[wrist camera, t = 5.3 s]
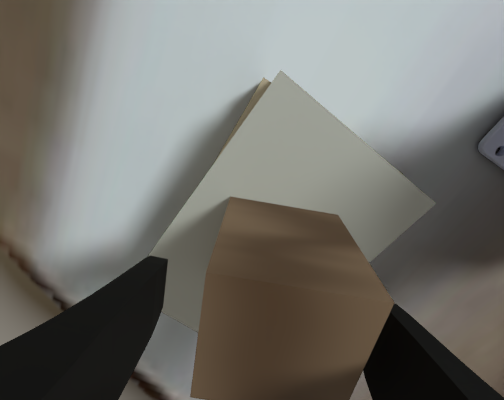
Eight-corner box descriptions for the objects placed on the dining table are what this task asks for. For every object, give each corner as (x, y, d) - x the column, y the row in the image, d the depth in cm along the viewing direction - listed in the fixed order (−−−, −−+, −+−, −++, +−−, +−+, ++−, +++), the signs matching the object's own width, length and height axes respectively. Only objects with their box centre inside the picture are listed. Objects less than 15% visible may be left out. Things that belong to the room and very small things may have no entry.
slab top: (405, 183, 13) (436, 203, 11) (255, 327, 17) (254, 364, 14) (277, 75, 11) (280, 69, 9) (144, 260, 15) (123, 290, 13)
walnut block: (338, 214, 11) (394, 302, 6) (310, 299, 13) (339, 419, 8) (230, 196, 11) (205, 272, 6) (217, 284, 12) (190, 397, 8)
